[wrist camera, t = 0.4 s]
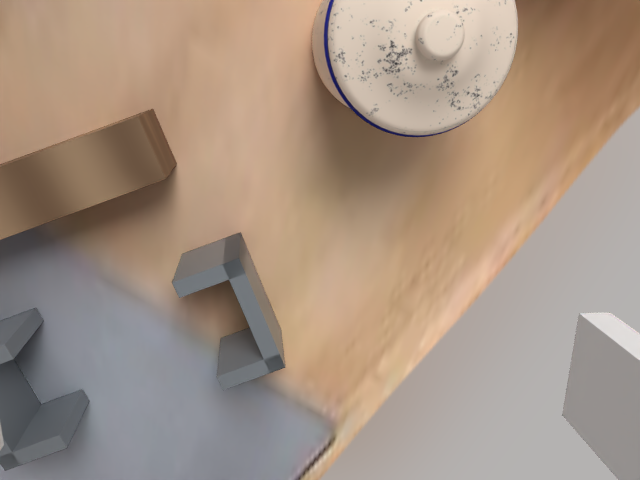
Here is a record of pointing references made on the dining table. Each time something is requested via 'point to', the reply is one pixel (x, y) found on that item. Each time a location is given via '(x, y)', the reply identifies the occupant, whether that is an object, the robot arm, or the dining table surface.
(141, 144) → the wooden block
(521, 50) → the dining table surface
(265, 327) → the endcap rail
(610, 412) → the robot arm
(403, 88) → the white ceramic jar
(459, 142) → the dining table surface
